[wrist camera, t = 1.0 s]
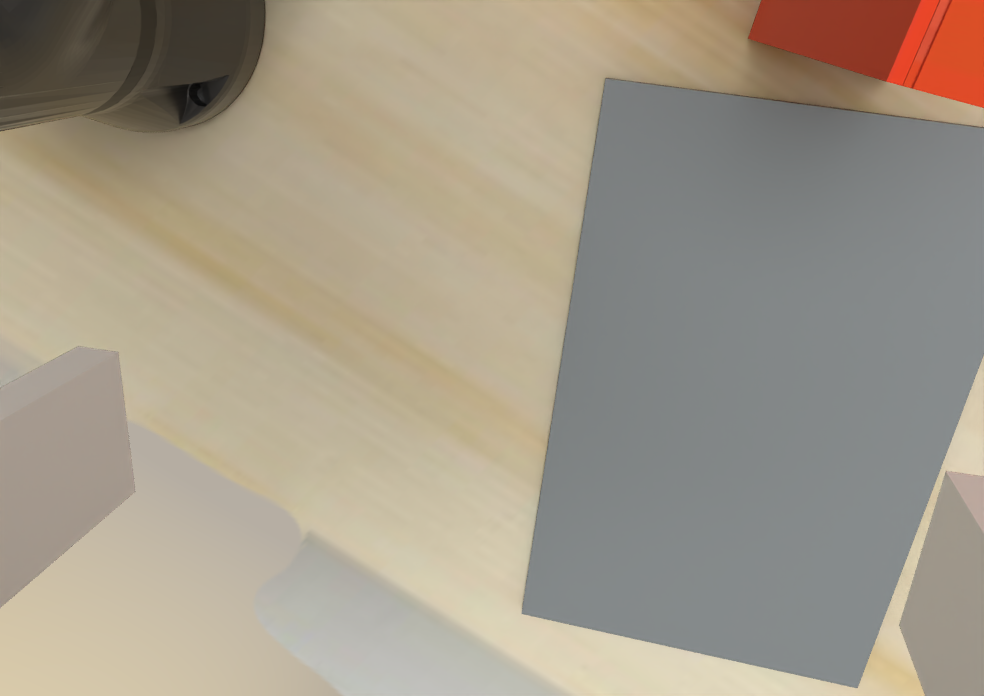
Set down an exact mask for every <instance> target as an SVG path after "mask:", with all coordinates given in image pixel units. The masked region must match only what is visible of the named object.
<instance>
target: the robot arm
mask: <svg viewBox="0 0 984 696" xmlns="http://www.w3.org/2000/svg"><path fill="white" fill-rule="evenodd" d="M264 18H265V13H264V0H0V131H4V130H10V129H15V128H20V127H25V126H30V125H35V124H40V123H45V122H50V121H55V120H60V119H65V118H71V117H76V116H83V117H86V118H89V119H92V120H95V121H99V122H102V123H105V124H108V125H111V126H114V127H118V128H121V129H125V130H130V131H137V132H165V131H172V130H176V129H180V128H184V127H189V126H193V125H196V124H199V123H202V122H204V121H206V120H208V119H210V118H212V117H214V116H216V115H217V114H218V113H220V112H221V111H223V110H224V109H225V108H226V107H228V106H229V105H230V104H231V103H232V102H233V101H234V100H235V99H236V97H237V96H238V95H239V94H240V93H241V91H242V90H243V88H244V87H245V85H246V84H247V82H248V80H249V79H250V77H251V75H252V73H253V70H254V68H255V66H256V63H257V60H258V57H259V54H260V50H261V45H262V40H263V33H264ZM134 492H135V484H134V476H133V468H132V460H131V452H130V444H129V435H128V427H127V419H126V411H125V403H124V394H123V386H122V378H121V370H120V362H119V354H118V352H115V351H108V350H101V349H94V348H87V347H80V346H77V347H76V348H74V349H72V350H70V351H68V352H66V353H64V354H63V355H61V356H59V357H57V358H55V359H53V360H51V361H49V362H48V363H46V364H44V365H42V366H40V367H38V368H36V369H35V370H33V371H31V372H29V373H27V374H25V375H23V376H21V377H20V378H18V379H16V380H14V381H12V382H10V383H8V384H6V385H5V386H3V387H1V388H0V608H1V607H2V606H3V605H4V604H5V603H6V602H8V601H9V600H10V599H11V598H12V597H13V596H15V595H16V594H17V593H18V592H19V591H20V590H22V589H23V588H24V587H25V586H26V585H28V584H29V583H30V582H31V581H32V580H33V579H34V578H36V577H37V576H38V575H39V574H40V573H41V572H43V571H44V570H45V569H46V568H47V567H48V566H50V565H51V564H52V563H53V562H54V561H55V560H57V559H58V558H59V557H60V556H61V555H62V554H64V553H65V552H66V551H67V550H68V549H69V548H70V547H72V546H73V545H74V544H75V543H76V542H77V541H79V540H80V539H81V538H82V537H83V536H84V535H86V534H87V533H88V532H89V531H90V530H91V529H93V528H94V527H95V526H96V525H97V524H98V523H99V522H101V521H102V520H103V519H104V518H105V517H106V516H108V515H109V514H110V513H111V512H112V511H113V510H115V509H116V508H117V507H118V506H119V505H120V504H122V503H123V502H124V501H125V500H126V499H127V498H129V497H130V496H131V495H132V494H133V493H134ZM899 626H900V629H901V632H902V634H903V637H904V640H905V642H906V645H907V648H908V651H909V653H910V656H911V659H912V661H913V664H914V667H915V669H916V672H917V675H918V678H919V680H920V683H921V686H922V688H923V691H924V694H925V696H984V476H978V475H971V474H964V473H957V472H950V471H946V472H945V475H944V479H943V482H942V485H941V489H940V492H939V495H938V498H937V502H936V505H935V508H934V512H933V515H932V518H931V522H930V525H929V528H928V531H927V535H926V538H925V541H924V545H923V548H922V551H921V555H920V558H919V561H918V564H917V568H916V571H915V574H914V578H913V581H912V584H911V588H910V591H909V594H908V597H907V601H906V604H905V607H904V611H903V614H902V617H901V621H900V624H899Z"/></svg>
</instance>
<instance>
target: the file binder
mask: <svg viewBox="0 0 984 696" xmlns="http://www.w3.org/2000/svg"><path fill="white" fill-rule="evenodd" d="M748 39H751V40H754V41H757V42H761V43H764V44H767V45H770V46H774V47H777V48H780V49H783V50H786V51H790V52H793V53H796V54H799V55H803V56H806V57H809V58H812V59H816V60H819V61H822V62H825V63H828V64H832V65H835V66H838V67H841V68H845V69H848V70H851V71H854V72H857V73H861V74H864V75H867V76H870V77H874V78H877V79H880V80H883V81H887V82H890V83H894V84H898V85H901V86H905V87H909V88H912V89H916V90H920V91H923V92H927V93H931V94H934V95H938V96H942V97H945V98H949V99H953V100H957V101H960V102H964V103H968V104H971V105H975V106H979V107H982V108H984V0H761V3H760V6H759V9H758V12H757V14H756V17H755V20H754V23H753V26H752V29H751V31H750V34H749V37H748Z"/></svg>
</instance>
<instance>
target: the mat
mask: <svg viewBox="0 0 984 696" xmlns="http://www.w3.org/2000/svg"><path fill="white" fill-rule="evenodd" d="M983 355H984V128H983V127H976V126H968V125H961V124H953V123H945V122H938V121H930V120H923V119H915V118H907V117H900V116H892V115H884V114H877V113H869V112H862V111H854V110H846V109H839V108H831V107H824V106H816V105H808V104H801V103H793V102H786V101H778V100H770V99H763V98H755V97H748V96H740V95H732V94H725V93H717V92H709V91H702V90H694V89H687V88H679V87H671V86H664V85H656V84H649V83H641V82H633V81H626V80H618V79H611V78H606V80H605V86H604V92H603V99H602V105H601V111H600V118H599V124H598V131H597V137H596V143H595V150H594V156H593V162H592V169H591V175H590V181H589V188H588V194H587V201H586V207H585V213H584V220H583V226H582V232H581V239H580V245H579V251H578V258H577V264H576V271H575V277H574V283H573V290H572V296H571V302H570V309H569V315H568V321H567V328H566V334H565V341H564V347H563V353H562V360H561V366H560V372H559V379H558V385H557V391H556V398H555V404H554V411H553V417H552V423H551V430H550V436H549V442H548V449H547V455H546V462H545V468H544V474H543V481H542V487H541V493H540V500H539V506H538V512H537V519H536V525H535V532H534V538H533V544H532V551H531V557H530V563H529V570H528V576H527V582H526V589H525V595H524V602H523V608H522V614H525V615H529V616H534V617H538V618H543V619H547V620H552V621H556V622H561V623H565V624H570V625H574V626H579V627H583V628H588V629H592V630H597V631H601V632H606V633H610V634H615V635H619V636H624V637H628V638H633V639H637V640H642V641H646V642H651V643H656V644H660V645H665V646H669V647H674V648H678V649H683V650H687V651H692V652H696V653H701V654H705V655H710V656H714V657H719V658H723V659H728V660H732V661H737V662H741V663H746V664H750V665H755V666H759V667H764V668H768V669H773V670H777V671H782V672H786V673H791V674H795V675H800V676H804V677H809V678H813V679H818V680H822V681H827V682H831V683H836V684H840V685H845V686H849V687H854V688H858V685H859V683H860V680H861V677H862V675H863V672H864V669H865V667H866V664H867V662H868V659H869V656H870V654H871V651H872V648H873V646H874V643H875V640H876V638H877V635H878V632H879V630H880V627H881V625H882V622H883V619H884V617H885V614H886V611H887V609H888V606H889V603H890V601H891V598H892V596H893V593H894V590H895V588H896V585H897V582H898V580H899V577H900V574H901V572H902V569H903V566H904V564H905V561H906V559H907V556H908V553H909V551H910V548H911V545H912V543H913V540H914V537H915V535H916V532H917V530H918V527H919V524H920V522H921V519H922V516H923V514H924V511H925V508H926V506H927V503H928V501H929V498H930V495H931V493H932V490H933V487H934V485H935V482H936V479H937V477H938V474H939V471H940V469H941V466H942V464H943V461H944V458H945V456H946V453H947V450H948V448H949V445H950V442H951V440H952V437H953V435H954V432H955V429H956V427H957V424H958V421H959V419H960V416H961V413H962V411H963V408H964V405H965V403H966V400H967V398H968V395H969V392H970V390H971V387H972V384H973V382H974V379H975V376H976V374H977V371H978V369H979V366H980V363H981V361H982V358H983Z"/></svg>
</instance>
